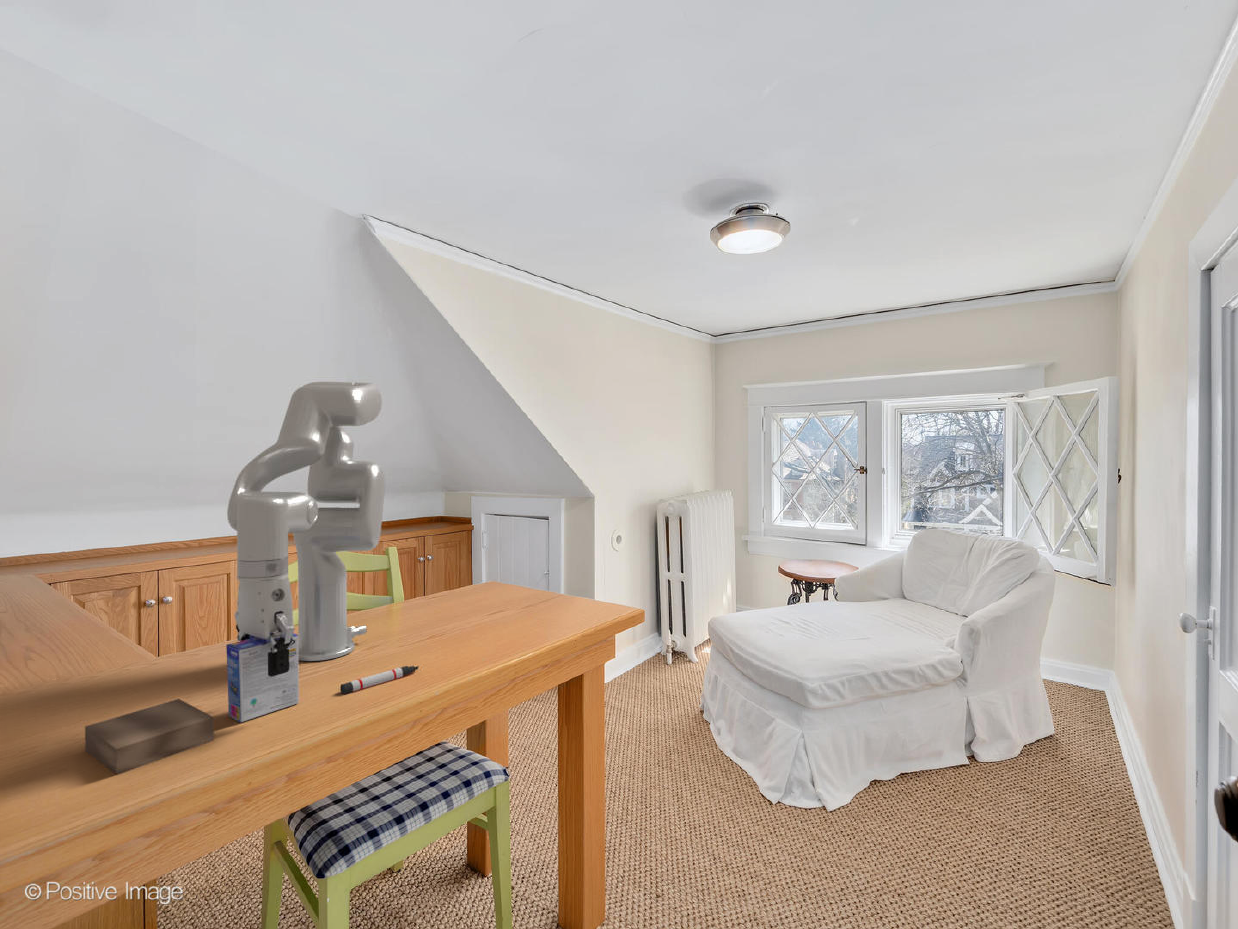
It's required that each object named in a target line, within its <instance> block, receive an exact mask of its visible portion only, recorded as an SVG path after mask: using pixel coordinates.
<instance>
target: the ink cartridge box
mask: <svg viewBox="0 0 1238 929" xmlns="http://www.w3.org/2000/svg"><path fill="white" fill-rule="evenodd" d="M272 633H274V632H272ZM249 637H250V639H247V640H243V641H235V642H231V643H228V644H226V646H225V647H226V667H227V668H226V670H227V672H226V673H227V701H228V702H227V703H228V704H227V705H228V707H227V708H228V709H227V710H228V716H229V717H231V718H232V719H233V720H235V721H237V722H238V723H243V722H246V721H249V720H251V719H256V718H258V717H260V716H264V715H266V714H270V713H272V712H276V711H279V710H282V709H285V708H287V707H290V706H293V705H297V704H299V703H300V678H299V677H300V675H299V674H300V672H299V671H300V670H299V668H300V667H299V660H298V644H299V634H296V633H295V632H294V633H293V636H292V638H293V640H292V642H291V648H290V649H289V671H288V672H286V673H283V674H280V675H276V676H273V677H270V676H268V653H269V652H271V651H270V648H269V645H268V643H267V640H266V639H261V638H258V637H255V636H252V635H249ZM278 639H279V638H275V639H274V641H275V643H276V642H277V641H278Z"/></svg>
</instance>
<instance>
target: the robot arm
mask: <svg viewBox="0 0 1238 929" xmlns="http://www.w3.org/2000/svg"><path fill="white" fill-rule="evenodd" d="M382 401H383V399H382V394H381V391H380V389H379V388H378V386H376V385H375V384H374V383H372V382H354V381H353V382H352V381H351V382H350V381H349V382H348V381H315V382H309V383H306V384H304V385H303V386H301V387H298V388H297V389H295V390H294V392H293V393H292V394H291V397H290V400H289V404H288V406H287V409H286V413H285V415H284V418H283V421H282V424H281V428H280V430H279V434H278V436H277V437H278V438H277V440H276V442H275V443H273V444H272V445H271V446H269V447H268V448H266V449H264V450H263V451H262V452H260V453H259V454H258V455H256V456H255V457H254V458H253V459H251V460H250V461H249V462H248V463H247V464H245V466H244V467H243V468H242V469H241V471H240V472H239V474H238V475H237V478H236V481H235V482H234V486H233V489H232V491H231V495H230V498H229V500H228V506H227V510H226V511H227V512H226V515H227V520H228V521H227V522H228V524H229V525H230V527H231V529H233V530H234V531H236V537H237V538H236V548H237V549H236V551H237V553H236V554H237V556H236V557H237V558H236V561H237V562H236V566H237V567H236V569H237V570H236V572H237V574H236V575H237V578H236V580H237V581H239V582H238V591H237V606H236V611H235V612H234V618H235V622H236V626H235V629H236V630H237V635H236V639H237V642H239V641H243V640H247V639H250V637H249V635H252V636H255V637H258V638H261V639H266V640H267V643H268V645H269V648H270V651H271V652H269V653H268V676H270V677H273V676H276V675H280V674H283V673H286V672H288V671H289V649H290V648H291V642H292V640H293V638H292V636H293V633H294V634H295V627H294V609H293V597H292V588H291V584H290V583H291V582H290V579H289V577H288V576H289V534H292V535H293V536H292V537H293V539H294V545H295V550H296V551H295V552H296V556H297V558H296V559H297V570H298V571H297V575H298V576H297V578H298V583H297V584H298V585H297V587H298V588H297V589H298V590H297V591H298V592H297V594H298V596H297V597H298V599H297V601H298V602H297V604H298V605H297V606H298V607H297V608H298V611H297V612H298V613H297V614H298V622H297V623H298V661H302V662H318V661H327V660H332V659H336V658H340V657H344V656H345V655H348V654H350V653H351V652H352V651H354V649H355V641H353V640H352V639H354V638H355V636H361V635H365V634H366V633H367V631H368V630H367V626H366V625H359V626H356V627H355V626H354V625H352V626H347V624H348V621H347V620H348V619H347V618H348V613H347V612H348V610H347V609H348V608H347V607H348V605H347V603H348V602H347V601H348V599H347V598H348V595H347V594H348V593H347V592H348V591H347V584H348V583H347V580H348V574H347V568H346V566H345V564H344V562H343V561H342V559H341V558H340V557H339V555H338V554H337V553H338V552H367V551H371V550H374V549H375V548H376V547H377V545H378V544H379V542H380V538H381V534H382V525H383V524H382V523H383V514H384V512H383V511H384V502H385V500H384V499H385V491H386V490H385V488H386V487H385V486H386V485H385V484H386V482H385V473H384V471H383V468H382V467H381V466H380V464H378V463H376V462H373V461H367V460H366V461H365V460H361V461H360V460H359V461H358V460H353V458H354V448H355V447H354V446H355V445H354V440H353V438H352V437H351V435H350V434H349V432H347V429H345V428H344V427H361V426H363V425H366V424H368V423H370V422H373V421H374V420H375V419H376V418H378V416H379V414H380V413H381V410H382V406H383V404H382V403H383V402H382ZM308 466H309V469H308V477H307V478H308V479H307V493H305V492H300V491H299V492H298V491H263V489H264V488H265V487H266V486H268V485H269V484H270V483H272V482H273V481H275V480H276V479H278V478H280V477H283V476H284V475H285V476H286V475H287V474H290V473H293V472H296V471H298V470H301V469H304V468H306V467H308ZM318 503H323V504H358V505H359V507H338V506H336V507H335V506H334V507H318ZM272 632H273V633H272ZM275 638H279V639H278V641H277V642H276V643H275V641H274V639H275Z"/></svg>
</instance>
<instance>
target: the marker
mask: <svg viewBox="0 0 1238 929" xmlns="http://www.w3.org/2000/svg"><path fill="white" fill-rule="evenodd" d="M418 669H419V665H417V666H415V665H411V666H408V665H406V666H405V665H404V666H402V667H397V668H393V669H391V670H387V671H383V672H380V673H376V674H373V675H369V676H366V677H362V678H357V679H355V680H352V681H348V682H345V683H342V684H340V686H339V690H340V693H341V694H343V695H347V694H352V693H354V692H358V691H362V690H364V689H368V688H371V687H375V686H378V685H381V684H385V683H387V682H392V681H394V680H397V679H401V678H404V677H406V676H407V677H408V676H410V674H412V673H415V672H416V671H417V670H418Z"/></svg>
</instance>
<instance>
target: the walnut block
mask: <svg viewBox="0 0 1238 929" xmlns="http://www.w3.org/2000/svg"><path fill="white" fill-rule="evenodd" d="M214 724H215V723H214V716H212V715H210V714H208V713H207V712H204V711H203V710H201V709H199V708H197V707H195V706H193V705H191V704H190V703H188V702H185V701H183V700H182V699H180V698H177V699H173V700H171V701H167V702H164V703H160V704H157V705H153V706H149V707H146V708H142V709H140V710H136V711H133V712H129V713H125V714H123V715H119V716H115V717H113V718H110V719H109V718H108V719H106V720H102V721H99V722H96V723H92V724H88V725H86V726H84V736H85V737H84V741H85V742H84V744H85V746H84V748H85V752H86V753H88V754H89V755H90V756H92V757H93V758H94V759H96V760H97V761H98V762H99V763H100V764H102V765H103V766H104V767H106V768H107V769H109V770H110V771H111V772H113V773H114V775H116V776H118V775H122V774H125V773H127V772H130V771H132V770H135V769H137V768H141V767H144V766H146V765H148V764H149V765H150V764H153V763H155V762H157V761H160V760H163V759H166V758H169V757H171V756H174V755H176V754H179V753H182V752H185V751H188V750H191V749H193V748H196V747H199V746H201V745H204V744H207V743H210V742H213V741H214V739H215V737H214V734H215V733H214V728H215V727H214Z"/></svg>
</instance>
